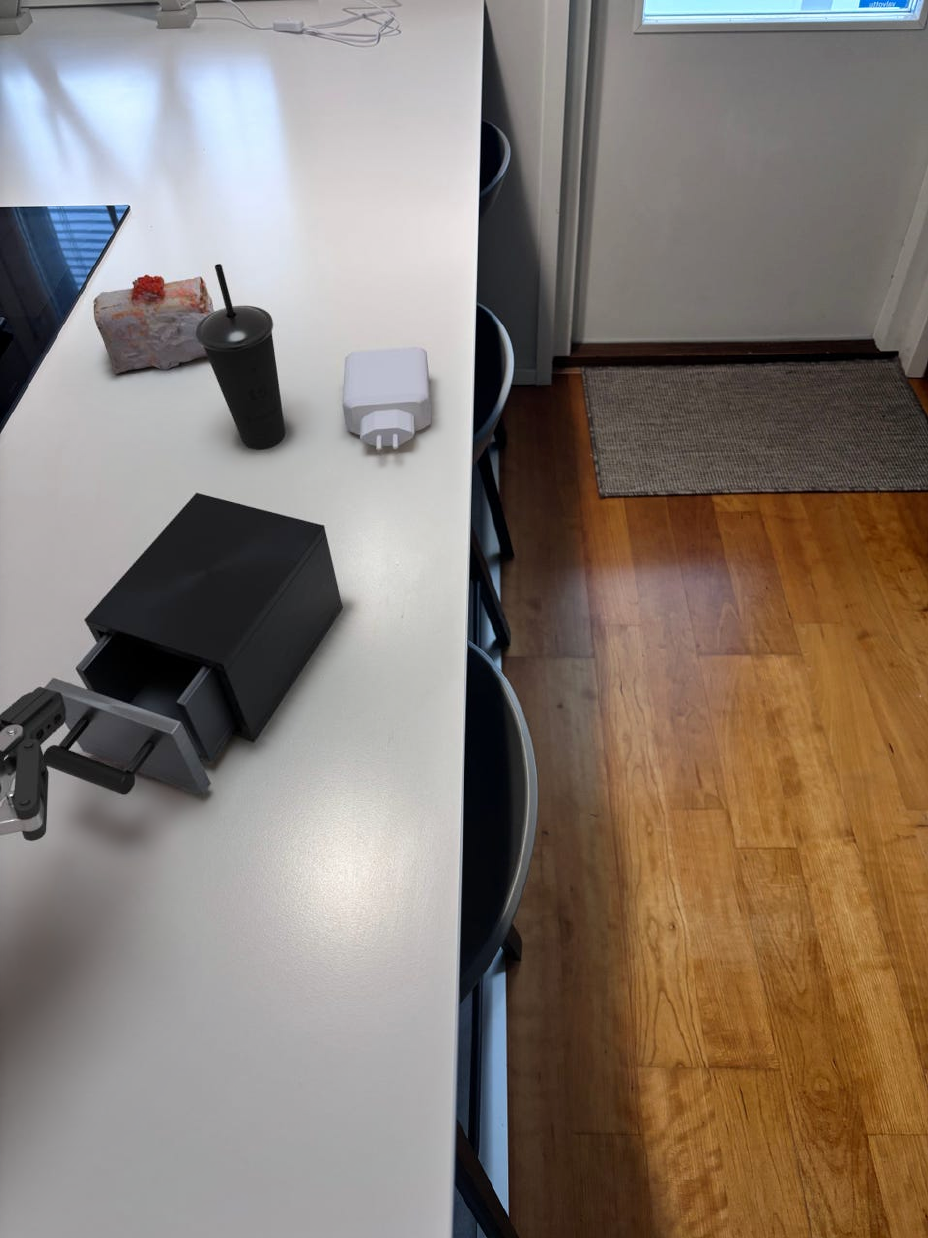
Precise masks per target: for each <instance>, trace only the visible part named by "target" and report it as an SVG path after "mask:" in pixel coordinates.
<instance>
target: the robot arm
mask: <svg viewBox="0 0 928 1238" xmlns="http://www.w3.org/2000/svg"><path fill="white" fill-rule="evenodd" d="M65 720H66V708H65V705H64V701H63V697H62V694H61V693H60V692H57V691H53V690H50V689H46V688H45V687H43V686H38V687H36V688H35V689H34V690H32V691H30V692H28V693H26V694H24V695H22V696H21V697H19V698H18V699H17V700H16V701H14V702H13V703H12V704H11V705H10V706H8V707H7V708H6V709H5V710H4V711H3V712H1V713H0V803H1V806H0V836H4V835H9V834H14V833H19V832H21V833H22V836H23V838H24V840H25V841H27V842H33V841H34V842H35V841H37V840H40V839H42V838H43V837H44V836H45V835H46V833H47V823H48V801H49V799H48V798H49V797H48V796H49V776H50V775H49V774H50V773H49V770H48V766H46V762H45V759H44V752H43V749H42V745H43V744H44V743H45V742H46V741H47V740H48V739H49V738H50V737H51V736H52V735H53V734H55V733H56V732H57V731H58V730H59V729H60V728H61V727H62V726H64V724H65ZM13 782H14V789H12V785H13Z"/></svg>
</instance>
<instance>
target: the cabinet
mask: <svg viewBox="0 0 928 1238" xmlns="http://www.w3.org/2000/svg"><path fill="white" fill-rule="evenodd" d="M343 608H344V607H343V602H342V597H341V593H340V589H339V585H338V581H337V576H336V572H335V567H334V563H333V559H332V555H331V550H330V544H329V541H328V537H327V532H326V528H325V525H323V524H319V523H316V522H313V521H312V522H311V521H308V520H304V519H300V518H296V517H292V516H290V515H289V516H288V515H284V514H281V513H277V512H273V511H269V510H266V509H262V508H257V507H254V506H250V505H246V504H241V503H237V502H235V501H230V500H227V499H222V498H219V497H216V496H215V497H214V496H211V495H207V494H203V493H199V492H196V493H194V495H193V496H192V497H191V498H190V499H189V500H188V501H187V503H185V505H184V506H183V507H182V508H181V509H180V510H179V512H178V513H177V514H175V516H174V517H173V518H172V519H171V521H170V522H169V523H168V524H167V525H166V527H164V529H163V530H162V531H161V532H160V533H159V534H158V536H156V537H155V538H154V540H153V541H152V542H151V543H150V545H148V546H147V548H146V549H145V550H144V551H143V552H142V553H141V554H140V556H139V557H138V558H137V559H136V560H135V562H133V564H132V565H131V566H129V568H128V570H126V572H125V573H123V575H122V576H121V577H120V578H119V579H118V581H117V582H116V583H115V584H114V585H113V586H112V587H111V588H110V590H109V591H108V592H107V593H106V594H105V595H104V596H103V598H102V599H101V600H100V601H99V602H98V604H96V605H95V607H94V608H93V609H92V610H91V611H90V613H88V614H87V616H86V617H85V618H84V623H85V624H86V626H87V627H88V629H89V631H90V633H91V635H92V637H93V639H94V640H95V642H96V643H97V642H98V641H99V640H100V639H101V637H102V636H103V635H104V634H105V633H109V634H112V635H115V636H118V637H121V638H124V639H127V640H130V641H134V642H137V643H140V644H143V645H146V646H149V647H152V648H155V649H159V650H162V651H165V652H168V653H171V654H174V655H177V656H180V657H183V658H187V659H190V660H193V661H196V662H199V663H202V664H205V665H208V666H212V667H215V668H216V669H217V671H218V674H219V676H220V679H221V681H222V684H223V686H224V689H225V691H226V694H227V696H228V699H229V701H230V704H231V706H232V708H233V711H234V713H235V716H236V718H237V721H238V723H239V724H238V725H237V727H236V728H235V730H234V731H233V733H232V734H231V736H234V737H237V738H239V739H240V738H241V739H243V740H245V741H248V742H251V743H255V742H256V740H257V739H258V737H259V736H260V734H261V732H262V731H263V729H264V728H265V727H266V725H267V723H268V722H269V720H271V718H272V716H273V715H274V713H275V711H276V710H277V708H278V707H279V705H280V704H281V702H282V701H283V699H284V697H285V696H286V695H287V693H288V692H289V690H290V689H291V687H292V686H293V684H294V683H295V681H296V680H297V678H298V677H299V675H300V673H301V672H302V671H303V669H304V667H306V664H307V663H308V662H309V660H310V659H311V657H312V655H313V654H314V652H315V651H316V649H317V648H318V646H319V645H320V643H321V642H322V641H323V639H324V637H325V636H326V634H327V633H328V631H329V630H330V628H331V626H332V625H333V624H334V622H335V621H336V619H337V618H338V616H339V614H341V612H342V610H343Z"/></svg>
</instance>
